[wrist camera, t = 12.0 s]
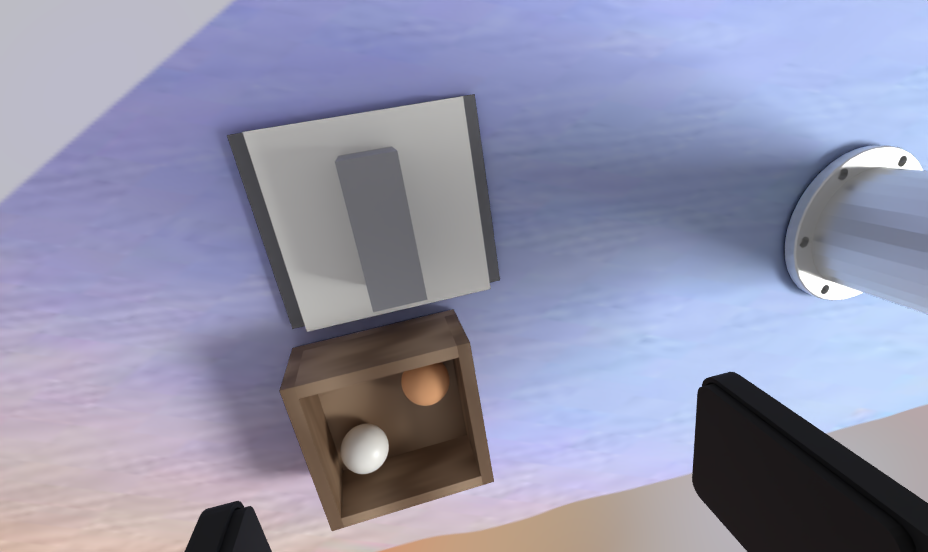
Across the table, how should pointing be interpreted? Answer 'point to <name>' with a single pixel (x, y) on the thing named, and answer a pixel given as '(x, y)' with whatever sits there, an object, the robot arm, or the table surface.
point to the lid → (373, 209)
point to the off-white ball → (364, 448)
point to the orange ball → (426, 384)
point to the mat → (270, 237)
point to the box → (387, 417)
